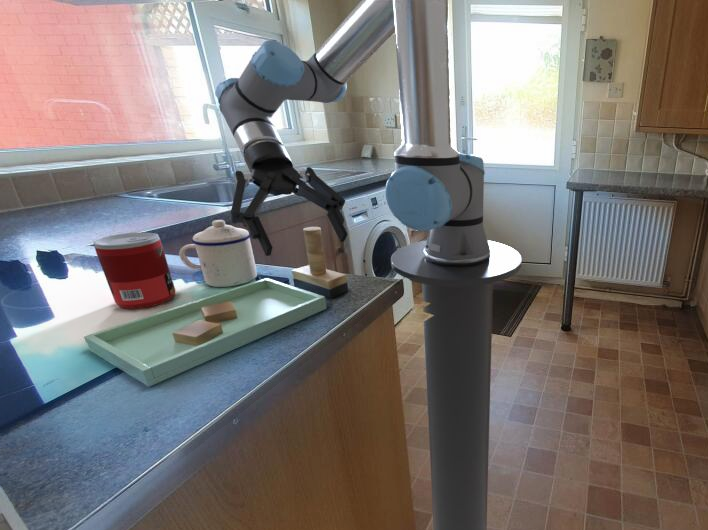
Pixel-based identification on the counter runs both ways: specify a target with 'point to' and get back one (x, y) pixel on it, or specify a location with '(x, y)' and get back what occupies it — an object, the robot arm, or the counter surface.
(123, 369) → the tray
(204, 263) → the teacup with lid
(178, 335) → the cork piece
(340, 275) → the brush
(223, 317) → the cork piece
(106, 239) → the canned food
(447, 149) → the robot arm
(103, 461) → the counter surface
